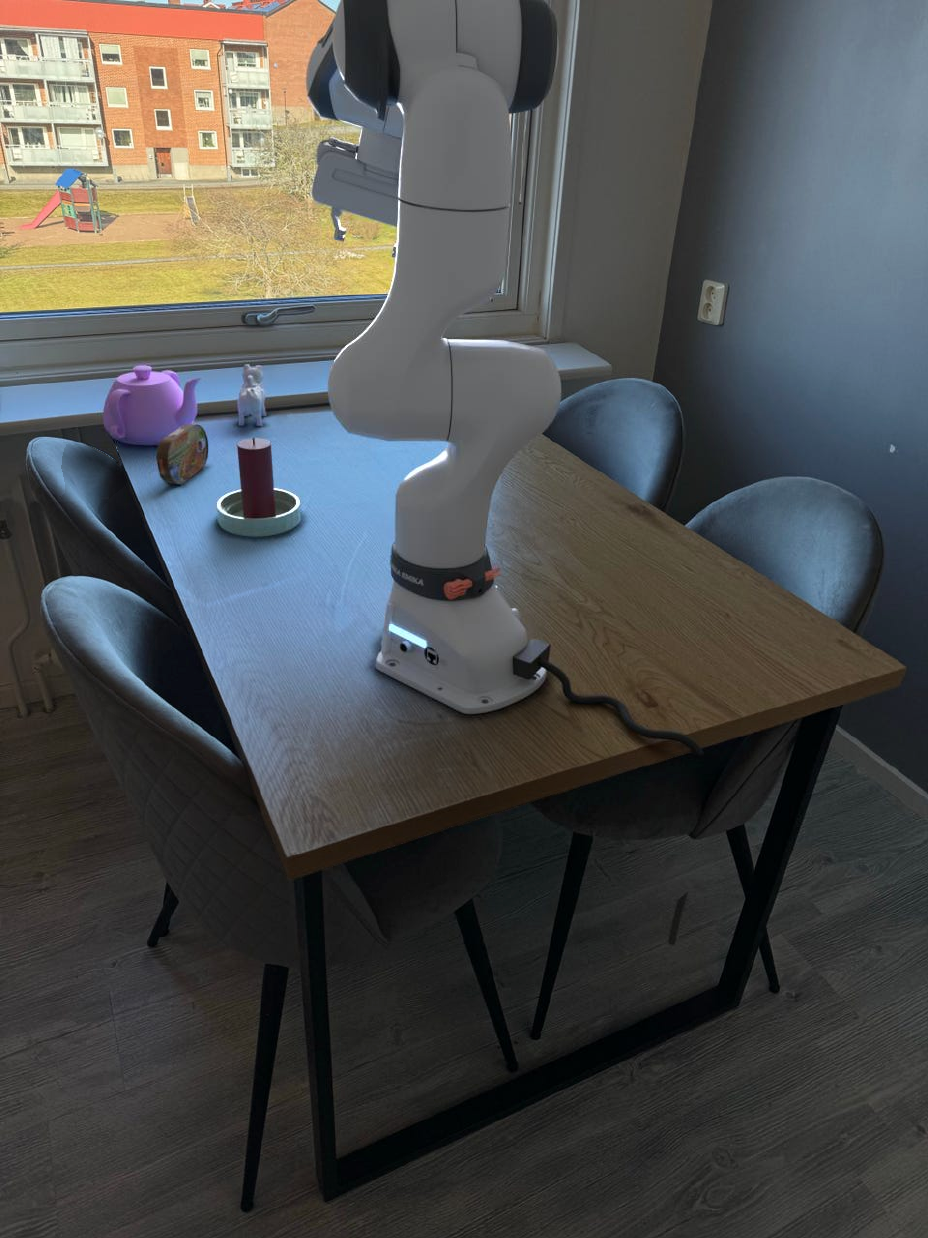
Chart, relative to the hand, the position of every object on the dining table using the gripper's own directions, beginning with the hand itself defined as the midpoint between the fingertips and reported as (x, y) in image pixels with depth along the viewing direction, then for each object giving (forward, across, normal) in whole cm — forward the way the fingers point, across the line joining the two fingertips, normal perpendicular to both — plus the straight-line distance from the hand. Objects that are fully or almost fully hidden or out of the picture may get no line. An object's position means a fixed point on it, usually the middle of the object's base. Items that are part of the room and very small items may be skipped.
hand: (367, 248), depth 140 cm
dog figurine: (+46, -20, +32) cm, 60 cm away
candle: (+42, -6, -19) cm, 46 cm away
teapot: (+50, -34, +17) cm, 62 cm away
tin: (+47, -24, -2) cm, 52 cm away
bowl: (+42, -6, -19) cm, 47 cm away
